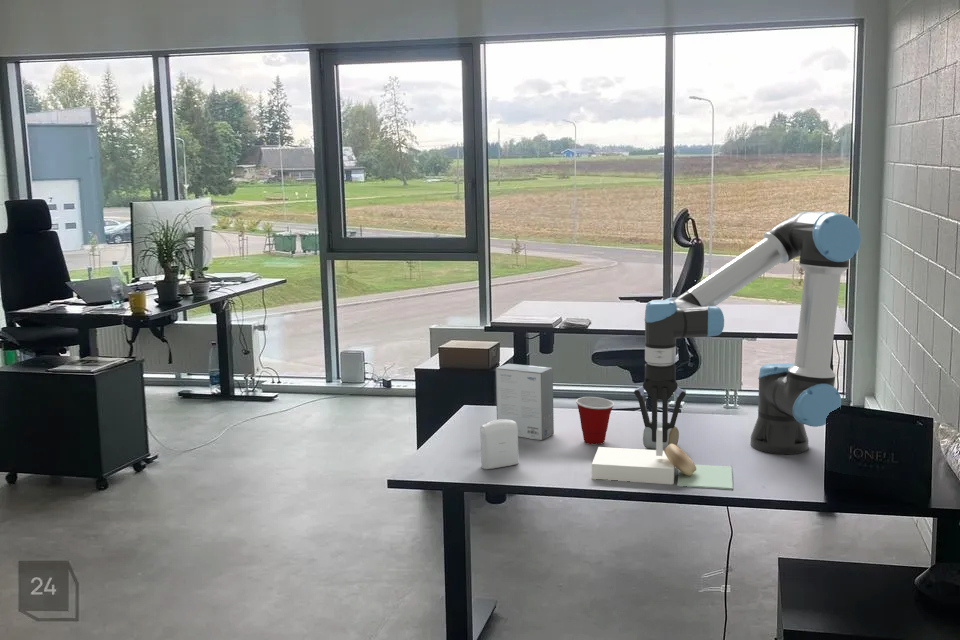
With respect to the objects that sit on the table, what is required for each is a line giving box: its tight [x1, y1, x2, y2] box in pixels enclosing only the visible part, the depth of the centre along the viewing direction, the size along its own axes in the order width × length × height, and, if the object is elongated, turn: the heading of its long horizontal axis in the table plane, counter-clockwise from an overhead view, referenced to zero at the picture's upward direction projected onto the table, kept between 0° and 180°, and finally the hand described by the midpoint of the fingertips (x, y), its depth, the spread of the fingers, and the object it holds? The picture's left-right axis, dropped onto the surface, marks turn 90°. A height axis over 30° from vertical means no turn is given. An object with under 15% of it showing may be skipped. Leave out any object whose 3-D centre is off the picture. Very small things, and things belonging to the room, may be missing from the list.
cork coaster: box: [664, 444, 696, 476], centre depth 229 cm, size 9×9×2 cm
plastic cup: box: [575, 396, 615, 445], centre depth 258 cm, size 11×11×12 cm
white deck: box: [591, 446, 676, 485], centre depth 233 cm, size 20×14×4 cm
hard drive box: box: [495, 363, 555, 441], centre depth 266 cm, size 16×8×20 cm, turn 58°
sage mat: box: [676, 463, 734, 491], centre depth 229 cm, size 13×16×1 cm
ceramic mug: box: [642, 419, 680, 451], centre depth 252 cm, size 11×8×8 cm
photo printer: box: [479, 419, 519, 470], centre depth 240 cm, size 10×4×12 cm, turn 112°
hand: (659, 454), depth 231 cm, fingers closed
